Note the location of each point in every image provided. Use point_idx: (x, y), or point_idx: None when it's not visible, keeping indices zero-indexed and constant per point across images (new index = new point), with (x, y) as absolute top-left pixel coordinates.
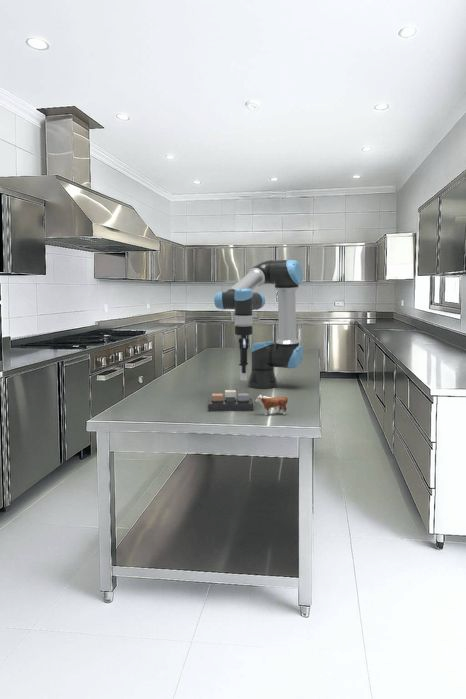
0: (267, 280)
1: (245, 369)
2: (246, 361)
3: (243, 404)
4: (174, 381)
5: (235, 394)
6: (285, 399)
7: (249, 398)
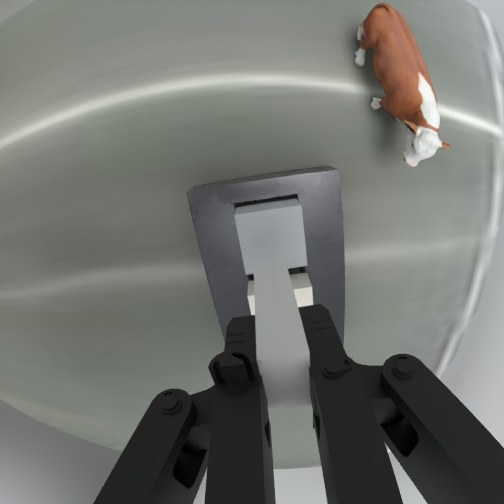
0: None
1: (334, 328)
2: (438, 388)
3: (342, 220)
4: (25, 400)
5: (310, 282)
6: (401, 15)
7: (200, 202)
